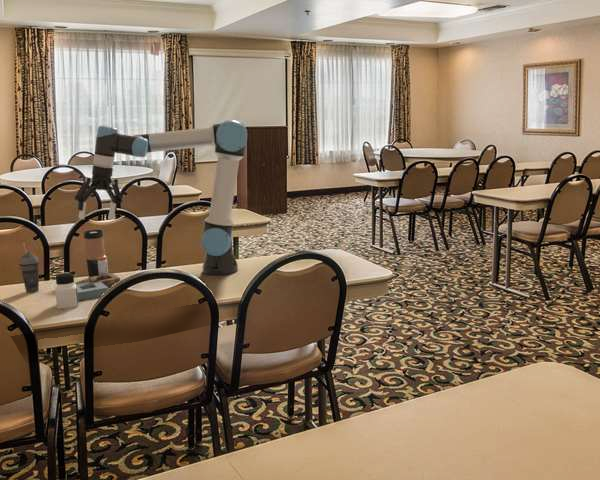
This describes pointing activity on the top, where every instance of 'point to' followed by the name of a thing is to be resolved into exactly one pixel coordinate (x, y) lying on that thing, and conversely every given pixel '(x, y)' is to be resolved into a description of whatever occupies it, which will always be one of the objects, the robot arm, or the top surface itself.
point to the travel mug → (93, 250)
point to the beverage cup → (30, 271)
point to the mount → (105, 280)
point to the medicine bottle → (66, 291)
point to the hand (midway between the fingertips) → (96, 218)
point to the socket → (90, 290)
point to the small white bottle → (103, 267)
